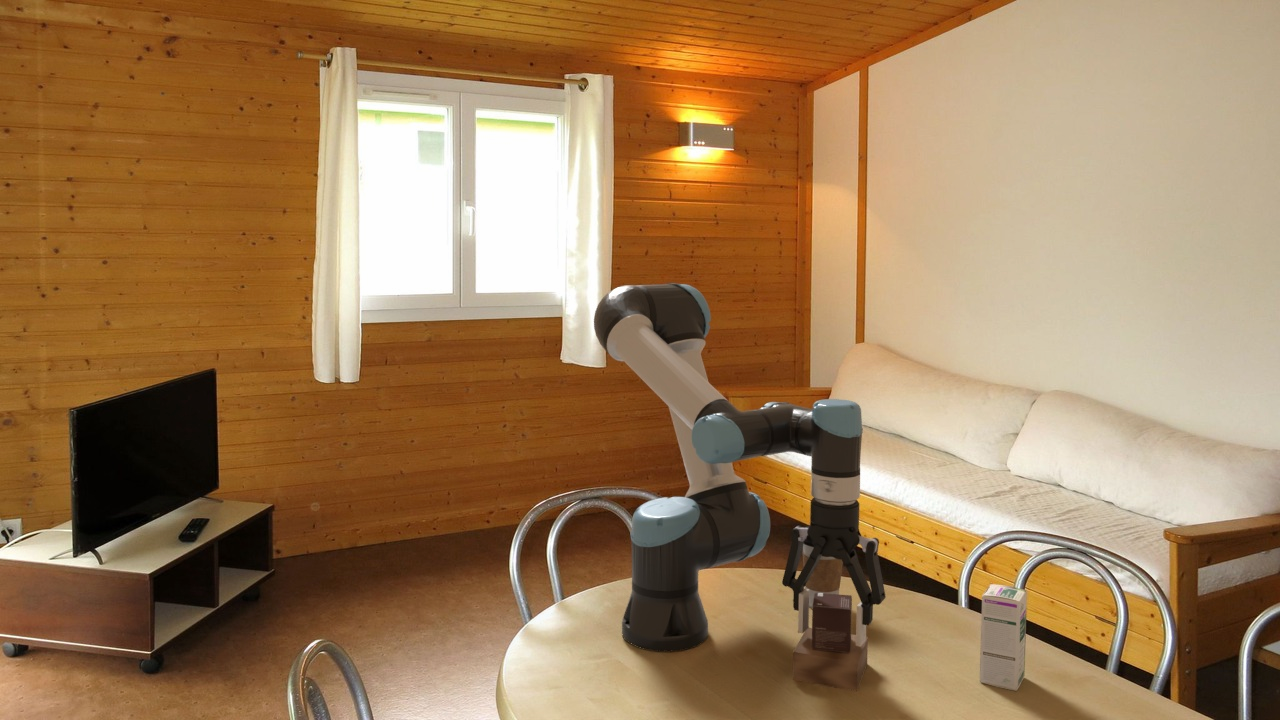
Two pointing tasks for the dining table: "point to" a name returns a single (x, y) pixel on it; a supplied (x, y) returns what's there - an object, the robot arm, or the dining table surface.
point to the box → (831, 622)
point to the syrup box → (1003, 636)
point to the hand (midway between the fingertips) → (831, 636)
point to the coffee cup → (822, 573)
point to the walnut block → (829, 664)
